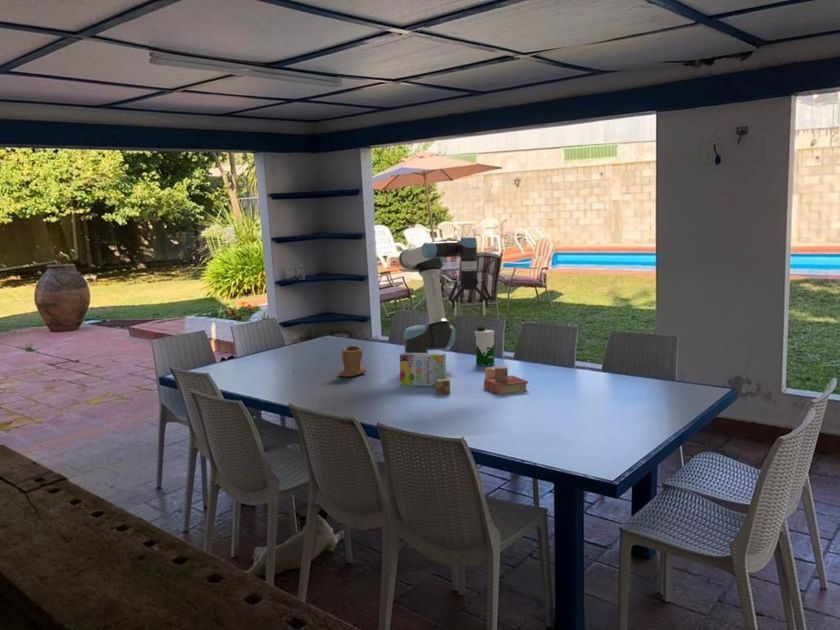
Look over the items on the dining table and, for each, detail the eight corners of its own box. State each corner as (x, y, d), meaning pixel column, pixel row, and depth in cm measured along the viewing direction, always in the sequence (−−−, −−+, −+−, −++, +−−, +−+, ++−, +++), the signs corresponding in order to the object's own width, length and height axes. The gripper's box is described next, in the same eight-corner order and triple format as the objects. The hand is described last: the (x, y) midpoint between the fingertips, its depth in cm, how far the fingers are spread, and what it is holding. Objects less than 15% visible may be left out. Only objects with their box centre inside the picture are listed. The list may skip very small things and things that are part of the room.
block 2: (495, 379, 327) (495, 366, 326) (506, 379, 326) (506, 366, 326) (496, 381, 322) (496, 368, 321) (507, 381, 322) (507, 368, 321)
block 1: (439, 395, 319) (439, 381, 318) (435, 392, 324) (435, 379, 323) (450, 393, 320) (449, 380, 320) (446, 391, 325) (446, 378, 324)
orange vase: (350, 379, 357) (349, 349, 355) (334, 376, 365) (333, 347, 363) (372, 374, 368) (371, 345, 366) (357, 371, 376) (356, 343, 374)
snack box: (446, 384, 340) (446, 352, 338) (443, 387, 334) (443, 355, 332) (403, 383, 345) (402, 351, 343) (400, 385, 340) (399, 354, 338)
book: (483, 389, 329) (482, 378, 328) (512, 386, 335) (512, 375, 334) (497, 396, 316) (497, 385, 315) (528, 392, 321) (528, 381, 321)
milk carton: (482, 362, 392) (481, 325, 389) (496, 363, 386) (496, 326, 384) (473, 364, 385) (473, 327, 382) (488, 366, 379) (487, 328, 377)
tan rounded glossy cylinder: (486, 387, 331) (486, 370, 330) (484, 384, 338) (484, 367, 337) (501, 386, 332) (501, 369, 331) (499, 383, 338) (499, 366, 338)
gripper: (443, 271, 334) (444, 317, 336) (496, 269, 335) (497, 315, 337) (441, 270, 341) (442, 315, 344) (494, 268, 342) (495, 313, 345)
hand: (469, 315), depth 341 cm, fingers open, 13 cm apart
